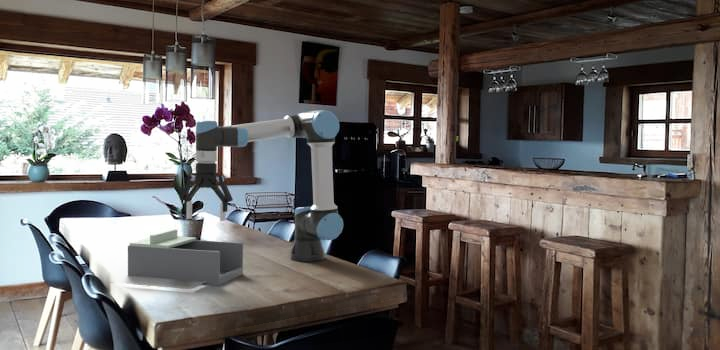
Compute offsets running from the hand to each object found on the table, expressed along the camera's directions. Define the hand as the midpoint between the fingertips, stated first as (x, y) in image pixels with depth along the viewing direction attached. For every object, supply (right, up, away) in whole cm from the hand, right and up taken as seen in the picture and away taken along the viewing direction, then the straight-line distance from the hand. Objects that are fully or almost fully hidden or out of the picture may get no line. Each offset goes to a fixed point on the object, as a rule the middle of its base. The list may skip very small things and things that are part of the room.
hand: (205, 219), depth 218 cm
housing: (-8, -22, +3) cm, 23 cm away
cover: (-17, -9, +5) cm, 20 cm away
